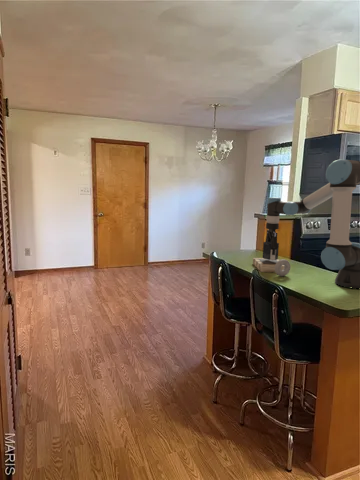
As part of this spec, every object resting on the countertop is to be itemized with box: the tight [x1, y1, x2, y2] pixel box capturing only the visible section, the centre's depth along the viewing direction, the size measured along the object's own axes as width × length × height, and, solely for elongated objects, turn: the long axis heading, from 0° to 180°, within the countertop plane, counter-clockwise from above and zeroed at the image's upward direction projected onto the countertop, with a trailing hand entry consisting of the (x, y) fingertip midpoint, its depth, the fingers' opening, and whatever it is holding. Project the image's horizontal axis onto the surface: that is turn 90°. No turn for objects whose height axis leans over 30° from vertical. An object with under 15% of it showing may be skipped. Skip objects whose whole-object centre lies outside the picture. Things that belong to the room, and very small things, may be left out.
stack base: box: [252, 257, 284, 273], centre depth 205 cm, size 20×16×4 cm
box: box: [262, 241, 280, 260], centre depth 204 cm, size 8×6×11 cm
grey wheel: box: [274, 258, 291, 277], centre depth 187 cm, size 10×4×10 cm, turn 109°
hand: (270, 257), depth 204 cm, fingers closed on box, 9 cm apart
